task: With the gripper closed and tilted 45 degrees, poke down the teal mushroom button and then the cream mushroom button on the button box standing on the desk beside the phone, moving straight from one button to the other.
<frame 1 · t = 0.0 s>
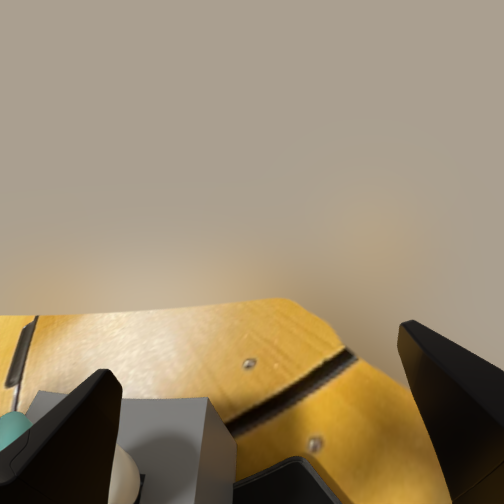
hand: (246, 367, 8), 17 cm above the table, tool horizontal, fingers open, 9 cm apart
teal button: (27, 457, 11), point 9 cm above the table, slide at 0.0 cm
button box: (134, 489, 16), on the table
cream button: (105, 485, 10), point 9 cm above the table, slide at 0.0 cm
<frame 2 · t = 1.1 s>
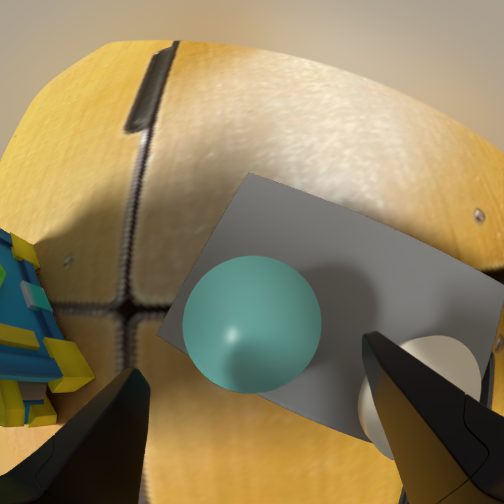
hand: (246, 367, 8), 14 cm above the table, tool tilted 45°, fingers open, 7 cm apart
teal button: (258, 328, 13), point 9 cm above the table, slide at 0.0 cm
button box: (336, 330, 20), on the table
cream button: (409, 395, 10), point 9 cm above the table, slide at 0.0 cm
phone: (447, 436, 16), on the table
decorative book: (37, 332, 25), on the table
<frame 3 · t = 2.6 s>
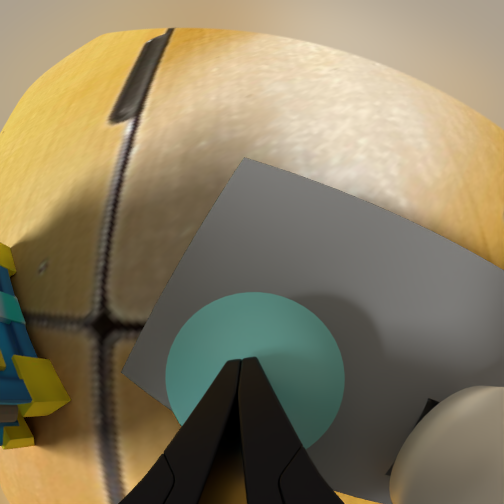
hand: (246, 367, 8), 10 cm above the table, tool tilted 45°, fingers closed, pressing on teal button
teal button: (261, 375, 10), point 7 cm above the table, slide at 1.6 cm, touching gripper
button box: (353, 357, 16), on the table
cream button: (452, 454, 6), point 9 cm above the table, slide at 0.0 cm
decorative book: (13, 344, 20), on the table
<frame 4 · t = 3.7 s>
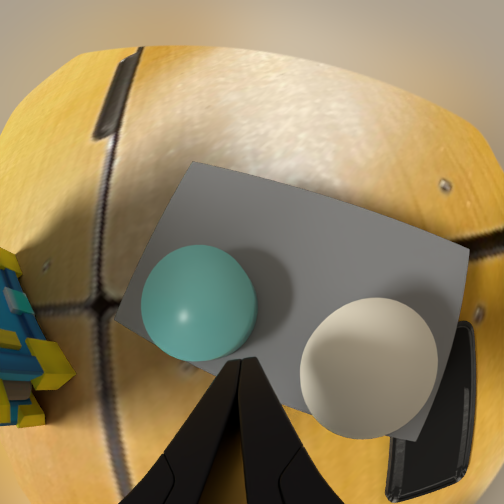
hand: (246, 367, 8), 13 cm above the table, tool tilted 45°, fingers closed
teal button: (208, 309, 15), point 7 cm above the table, slide at 1.6 cm
button box: (298, 310, 21), on the table
cream button: (360, 366, 11), point 9 cm above the table, slide at 0.0 cm
phone: (431, 415, 17), on the table
decorative book: (23, 336, 24), on the table
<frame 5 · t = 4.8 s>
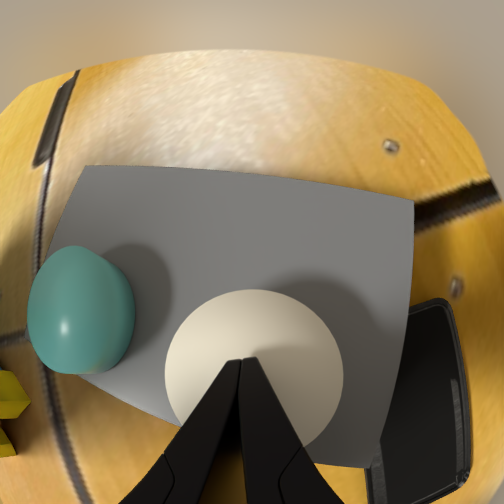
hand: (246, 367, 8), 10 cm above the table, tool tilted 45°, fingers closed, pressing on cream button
teal button: (95, 317, 12), point 7 cm above the table, slide at 1.6 cm
button box: (224, 312, 18), on the table
cream button: (260, 373, 10), point 7 cm above the table, slide at 1.6 cm, touching gripper
phone: (413, 417, 14), on the table
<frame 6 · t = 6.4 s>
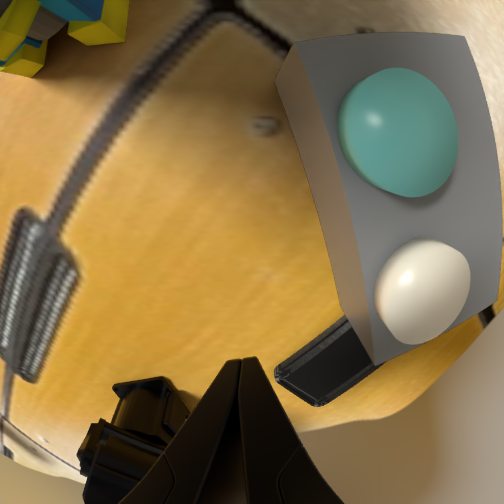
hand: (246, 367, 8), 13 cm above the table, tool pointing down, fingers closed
teal button: (385, 132, 11), point 7 cm above the table, slide at 1.6 cm
button box: (381, 181, 19), on the table
cream button: (410, 279, 14), point 7 cm above the table, slide at 1.6 cm
phone: (354, 342, 25), on the table
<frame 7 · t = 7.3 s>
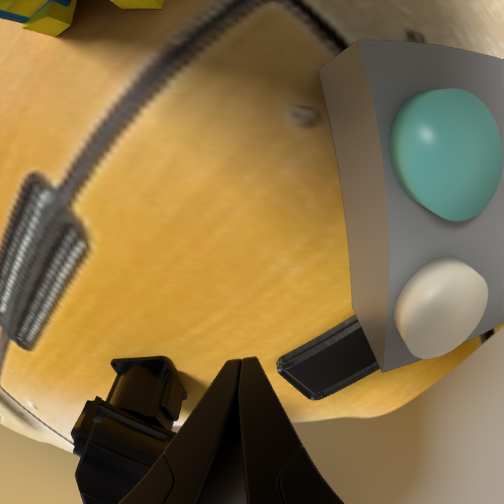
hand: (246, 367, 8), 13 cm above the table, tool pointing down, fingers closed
teal button: (432, 148, 10), point 7 cm above the table, slide at 1.6 cm
button box: (410, 189, 18), on the table
cream button: (430, 294, 14), point 7 cm above the table, slide at 1.6 cm
phone: (359, 342, 25), on the table
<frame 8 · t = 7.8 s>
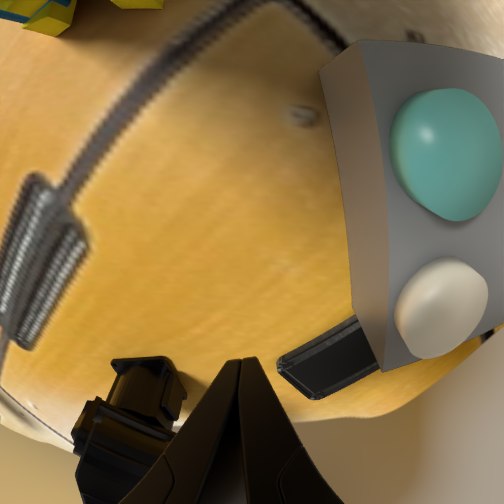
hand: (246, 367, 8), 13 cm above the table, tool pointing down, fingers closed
teal button: (432, 148, 10), point 7 cm above the table, slide at 1.6 cm
button box: (410, 189, 18), on the table
cream button: (430, 294, 14), point 7 cm above the table, slide at 1.6 cm
phone: (359, 342, 25), on the table
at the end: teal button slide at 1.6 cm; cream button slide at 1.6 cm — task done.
